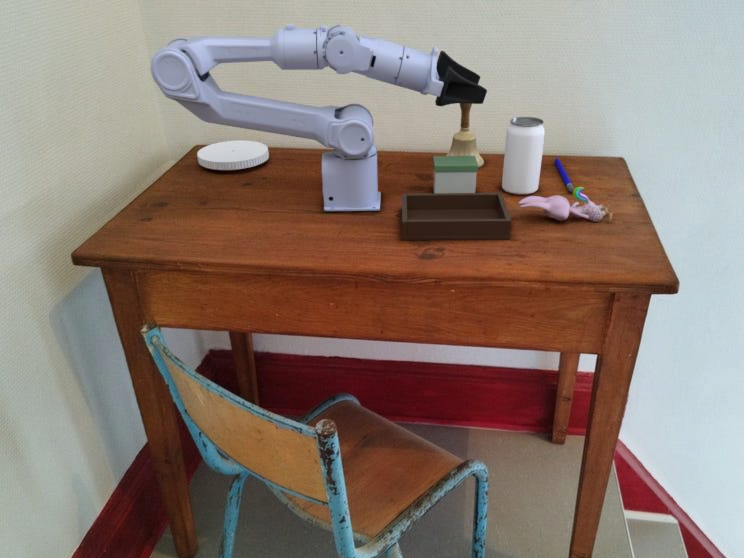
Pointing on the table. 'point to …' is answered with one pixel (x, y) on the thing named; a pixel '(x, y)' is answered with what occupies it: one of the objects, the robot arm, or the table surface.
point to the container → (455, 174)
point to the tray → (455, 216)
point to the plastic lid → (233, 155)
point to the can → (523, 155)
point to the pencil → (564, 175)
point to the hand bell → (465, 138)
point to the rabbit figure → (567, 206)
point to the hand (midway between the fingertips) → (481, 89)
